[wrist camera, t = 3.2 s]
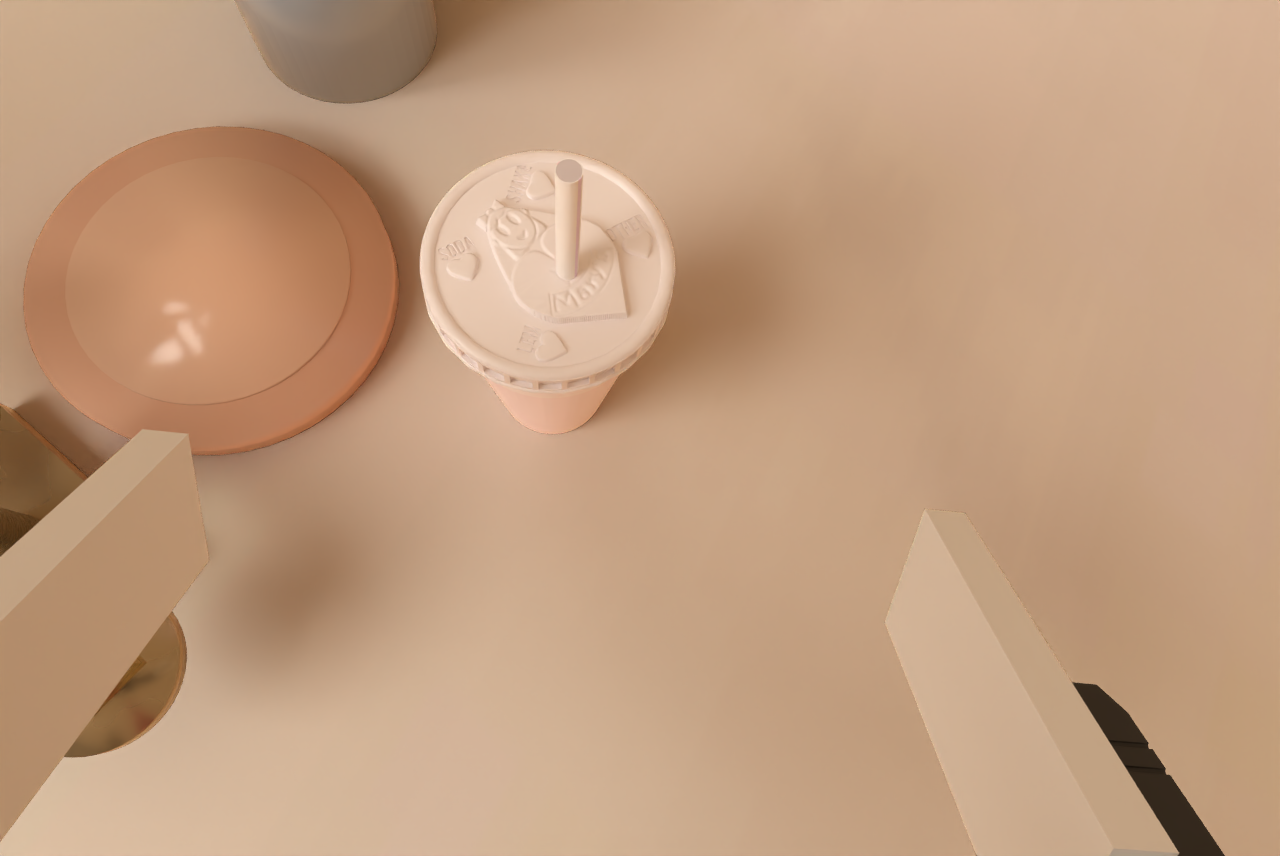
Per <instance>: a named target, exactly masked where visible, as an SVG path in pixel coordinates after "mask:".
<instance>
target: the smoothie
mask: <svg viewBox="0 0 1280 856" xmlns="http://www.w3.org/2000/svg"><path fill="white" fill-rule="evenodd" d="M420 276H421V283H422V288H423V293H424V297H425V302H426V306H427V310H428V315H429V317H430V319H431V321H432V323H433V325H434V326H435V328H436V330H437V332H438V334H439V335H440V337H441V339H442V341H443V343H444V344H445V345H446V346H447V347H448V348H449V349H450V350H451V351H452V352H453V353H454V354H455V355H456V356H457V357H458V358H459V359H460V360H461V361H462V362H463V363H464V364H465V365H466V366H467V367H468V368H470V369H472V370H473V371H475V372H477V373H478V374H480V375H482V376H484V378H485V379H486V380H487V382H488V383H489V385H490V386H491V387H492V389H493V390H494V392H495V393H496V394H497V396H498V397H499V398H500V400H501V401H502V403H503V404H504V405H505V407H506V408H507V409H508V411H509V412H510V413H511V415H512V416H513V417H514V418H515V419H516V420H517V421H518V422H519V423H520V424H522V425H523V426H525V427H527V428H529V429H531V430H533V431H536V432H540V433H545V434H560V433H565V432H569V431H572V430H574V429H576V428H578V427H580V426H582V425H583V424H584V423H586V422H587V421H588V420H589V419H590V418H591V417H592V416H593V415H594V413H595V412H596V411H597V409H598V407H599V406H600V404H601V403H602V401H603V400H604V398H605V397H606V395H607V393H608V392H609V390H610V389H611V387H612V386H613V384H614V383H615V381H616V379H617V378H618V376H619V375H620V374H621V373H623V372H625V371H626V370H627V369H628V368H629V367H631V366H632V365H633V364H634V363H635V362H636V361H637V360H638V359H639V358H640V357H641V356H642V355H644V354H645V353H646V352H647V351H648V350H649V349H650V347H651V345H652V344H653V342H654V340H655V339H656V337H657V335H658V334H659V332H660V331H661V329H662V327H663V326H664V324H665V321H666V318H667V314H668V310H669V307H670V303H671V299H672V295H673V286H674V279H675V256H674V249H673V244H672V240H671V237H670V234H669V231H668V228H667V226H666V224H665V221H664V219H663V217H662V216H661V214H660V212H659V210H658V209H657V207H656V206H655V205H654V203H653V202H652V200H651V199H650V198H649V197H648V196H647V195H646V193H645V192H644V191H643V190H642V189H641V188H640V187H639V186H638V185H637V184H636V183H634V182H633V181H632V180H631V179H629V178H628V177H627V176H625V175H624V174H622V173H621V172H619V171H618V170H616V169H614V168H613V167H611V166H609V165H607V164H605V163H603V162H600V161H598V160H596V159H593V158H590V157H587V156H584V155H579V154H575V153H570V152H564V151H553V150H536V151H526V152H520V153H515V154H511V155H507V156H504V157H500V158H498V159H495V160H493V161H490V162H488V163H486V164H484V165H482V166H480V167H478V168H477V169H475V170H473V171H472V172H470V173H469V174H467V175H466V176H465V177H463V178H462V179H461V180H459V181H458V182H457V183H456V184H455V185H454V186H453V187H452V188H451V189H450V190H449V191H448V192H447V193H446V194H445V196H444V197H443V198H442V199H441V201H440V202H439V204H438V205H437V206H436V208H435V210H434V212H433V213H432V215H431V217H430V219H429V222H428V224H427V226H426V229H425V232H424V236H423V239H422V244H421V251H420Z"/></svg>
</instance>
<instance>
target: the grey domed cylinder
mask: <svg viewBox="0 0 1280 856" xmlns="http://www.w3.org/2000/svg"><path fill="white" fill-rule="evenodd" d="M234 1H235V3H236V5H237V7H238V9H239V11H240V13H241V15H242V17H243V19H244V21H245V23H246V25H247V27H248V29H249V31H250V33H251V35H252V37H253V39H254V41H255V43H256V45H257V47H258V49H259V51H260V53H261V55H262V57H263V59H264V61H265V62H266V64H267V66H268V67H269V69H270V70H271V71H272V72H273V74H274V75H275V76H276V77H277V78H279V79H280V80H281V81H282V82H283V83H284V84H286V85H287V86H289V87H290V88H291V89H293V90H295V91H297V92H299V93H301V94H303V95H305V96H308V97H311V98H313V99H317V100H321V101H326V102H333V103H361V102H366V101H371V100H375V99H378V98H382V97H384V96H387V95H389V94H391V93H394V92H396V91H397V90H399V89H401V88H402V87H404V86H405V85H407V84H408V83H409V82H411V81H412V80H413V79H414V78H415V77H416V76H417V75H418V74H419V73H420V72H421V71H422V70H423V68H424V67H425V66H426V64H427V63H428V61H429V59H430V57H431V55H432V53H433V50H434V47H435V43H436V38H437V23H436V16H435V11H434V6H433V1H432V0H234Z"/></svg>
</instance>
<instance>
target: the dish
mask: <svg viewBox="0 0 1280 856" xmlns="http://www.w3.org/2000/svg"><path fill="white" fill-rule="evenodd" d="M398 291H399V281H398V270H397V263H396V259H395V255H394V251H393V247H392V244H391V242H390V239H389V237H388V235H387V232H386V230H385V227H384V225H383V222H382V220H381V218H380V215H379V213H378V211H377V209H376V207H375V206H374V204H373V202H372V201H371V199H370V197H369V196H368V194H367V193H366V192H365V191H364V189H363V188H362V187H361V186H360V184H359V183H358V182H357V181H356V179H355V178H354V177H352V176H351V175H350V174H349V173H348V172H347V171H346V170H345V169H344V168H343V167H342V166H341V165H339V164H338V163H337V162H335V161H334V160H332V159H331V158H329V157H328V156H327V155H325V154H324V153H322V152H320V151H318V150H316V149H315V148H313V147H311V146H309V145H307V144H305V143H303V142H300V141H298V140H295V139H292V138H290V137H287V136H284V135H281V134H277V133H273V132H269V131H265V130H259V129H252V128H244V127H220V126H219V127H206V128H195V129H190V130H184V131H179V132H174V133H170V134H167V135H164V136H160V137H157V138H153V139H150V140H148V141H146V142H143V143H141V144H138V145H136V146H134V147H131V148H129V149H127V150H125V151H124V152H122V153H120V154H118V155H116V156H115V157H113V158H111V159H109V160H108V161H106V162H105V163H103V164H102V165H101V166H99V167H98V168H96V169H95V170H94V171H92V172H91V173H89V174H88V175H87V176H86V177H85V178H84V179H83V180H82V181H80V182H79V183H78V184H77V185H76V186H75V187H74V188H73V189H72V190H71V191H70V192H69V193H68V194H67V196H66V197H65V198H64V199H63V200H62V201H61V202H60V203H59V205H58V206H57V207H56V209H55V210H54V212H53V213H52V215H51V216H50V218H49V219H48V220H47V222H46V223H45V225H44V227H43V229H42V231H41V233H40V235H39V237H38V239H37V241H36V243H35V246H34V248H33V251H32V254H31V257H30V260H29V263H28V267H27V273H26V278H25V283H24V303H23V309H24V317H25V324H26V330H27V334H28V337H29V340H30V344H31V347H32V350H33V352H34V354H35V356H36V358H37V361H38V363H39V365H40V367H41V369H42V370H43V372H44V373H45V375H46V376H47V378H48V379H49V380H50V382H51V383H52V385H53V386H54V387H55V388H56V390H57V391H58V392H59V393H60V394H61V395H62V396H63V397H64V398H65V399H66V400H67V401H68V402H69V403H70V404H71V405H73V406H74V407H75V408H76V409H78V410H79V411H80V412H82V413H83V414H84V415H86V416H87V417H88V418H90V419H92V420H94V421H95V422H97V423H99V424H101V425H102V426H104V427H106V428H108V429H110V430H112V431H114V432H116V433H118V434H120V435H122V436H124V437H126V438H128V439H130V440H131V439H132V438H133V437H134V436H135V435H137V434H138V433H139V432H140V431H141V430H142V429H146V430H156V431H166V432H176V433H186V434H188V435H189V441H190V447H191V453H192V455H225V454H232V453H240V452H246V451H250V450H254V449H258V448H262V447H266V446H270V445H272V444H275V443H278V442H280V441H283V440H285V439H288V438H291V437H293V436H295V435H297V434H299V433H301V432H302V431H304V430H306V429H308V428H310V427H312V426H314V425H315V424H317V423H318V422H320V421H321V420H323V419H324V418H325V417H327V416H328V415H330V414H331V413H333V412H334V411H335V410H336V409H337V408H338V407H340V406H341V405H342V404H343V403H344V402H345V401H346V400H348V399H349V398H350V397H351V396H352V395H353V393H354V392H355V391H356V390H357V389H358V388H359V387H360V386H361V384H362V383H363V382H364V381H365V380H366V378H367V377H368V375H369V374H370V373H371V371H372V370H373V368H374V367H375V365H376V364H377V362H378V360H379V358H380V356H381V354H382V353H383V351H384V349H385V347H386V345H387V342H388V339H389V337H390V334H391V331H392V328H393V325H394V321H395V316H396V311H397V306H398Z"/></svg>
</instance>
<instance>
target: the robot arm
mask: <svg viewBox="0 0 1280 856" xmlns="http://www.w3.org/2000/svg"><path fill="white" fill-rule="evenodd" d="M208 561H209V555H208V549H207V543H206V537H205V531H204V525H203V519H202V513H201V507H200V501H199V495H198V489H197V483H196V477H195V471H194V465H193V459H192V453H191V447H190V441H189V435H188V434H186V433H176V432H166V431H156V430H146V429H142V430H141V431H140V432H139V433H138V434H137V435H135V436H134V437H133V438H132V439H131V440H130V441H129V442H128V443H127V444H125V445H124V446H123V447H122V448H121V449H120V450H119V451H118V452H117V453H115V454H114V455H113V456H112V457H111V458H110V459H109V460H108V461H107V462H105V463H104V464H103V465H102V466H101V467H100V468H99V469H98V470H96V471H95V472H94V473H93V474H92V475H91V476H90V477H89V478H88V479H86V480H85V481H84V482H83V483H82V484H81V485H80V486H79V487H78V488H76V489H75V490H74V491H73V492H72V493H71V494H70V495H69V496H68V497H66V498H65V499H64V500H63V501H62V502H61V503H60V504H59V505H58V506H56V507H55V508H54V509H53V510H52V511H51V512H50V513H49V514H47V515H46V516H45V517H44V518H43V519H42V520H41V521H40V522H39V523H37V524H36V525H35V526H34V527H33V528H32V529H31V530H30V531H29V532H27V533H26V534H25V535H24V536H23V537H22V538H21V539H20V540H19V541H17V542H16V543H15V544H14V545H13V546H12V547H11V548H10V549H9V550H7V551H6V552H5V553H4V554H3V555H2V556H1V557H0V842H1V840H2V839H3V838H4V836H5V835H6V833H7V832H8V831H9V829H10V828H11V827H12V825H13V824H14V823H15V821H16V820H17V819H18V817H19V816H20V815H21V813H22V812H23V811H24V809H25V808H26V807H27V805H28V804H29V802H30V801H31V800H32V798H33V797H34V796H35V794H36V793H37V792H38V790H39V789H40V788H41V786H42V785H43V784H44V782H45V781H46V780H47V778H48V777H49V776H50V774H51V773H52V771H53V770H54V769H55V767H56V766H57V765H58V763H59V762H60V761H61V759H62V758H63V757H64V755H65V754H66V753H67V751H68V750H69V749H70V747H71V746H72V745H73V743H74V742H75V741H76V739H77V738H78V736H79V735H80V734H81V732H82V731H83V730H84V728H85V727H86V726H87V724H88V723H89V722H90V720H91V719H92V718H93V716H94V715H95V714H96V712H97V711H98V710H99V708H100V707H101V705H102V704H103V703H104V701H105V700H106V699H107V697H108V696H109V695H110V693H111V692H112V691H113V689H114V688H115V687H116V685H117V684H118V683H119V681H120V680H121V679H122V677H123V676H124V674H125V673H126V672H127V670H128V669H129V668H130V666H131V665H132V664H133V662H134V661H135V660H136V658H137V657H138V656H139V654H140V653H141V652H142V650H143V649H144V648H145V646H146V645H147V644H148V642H149V641H150V639H151V638H152V637H153V635H154V634H155V633H156V631H157V630H158V629H159V627H160V626H161V625H162V623H163V622H164V621H165V619H166V618H167V617H168V615H169V614H170V613H171V611H172V610H173V608H174V607H175V606H176V604H177V603H178V602H179V600H180V599H181V598H182V596H183V595H184V594H185V592H186V591H187V590H188V588H189V587H190V586H191V584H192V583H193V582H194V580H195V579H196V577H197V576H198V575H199V573H200V572H201V571H202V569H203V568H204V567H205V565H206V564H207V563H208ZM885 625H886V627H887V630H888V632H889V635H890V638H891V640H892V643H893V645H894V648H895V650H896V653H897V655H898V658H899V660H900V663H901V665H902V668H903V671H904V673H905V676H906V678H907V681H908V683H909V686H910V688H911V691H912V693H913V696H914V699H915V701H916V704H917V706H918V709H919V711H920V714H921V716H922V719H923V721H924V724H925V726H926V729H927V732H928V734H929V737H930V739H931V742H932V744H933V747H934V749H935V752H936V754H937V757H938V760H939V762H940V765H941V767H942V770H943V772H944V775H945V777H946V780H947V782H948V785H949V788H950V790H951V793H952V795H953V798H954V800H955V803H956V805H957V808H958V810H959V813H960V815H961V818H962V821H963V823H964V826H965V828H966V831H967V833H968V836H969V838H970V841H971V843H972V846H973V849H974V851H975V854H976V856H1225V855H1224V854H1223V852H1222V851H1221V849H1220V848H1219V846H1218V845H1217V844H1216V842H1215V841H1214V839H1213V838H1212V836H1211V835H1210V833H1209V832H1208V830H1207V829H1206V827H1205V826H1204V824H1203V823H1202V821H1201V820H1200V819H1199V817H1198V816H1197V814H1196V813H1195V811H1194V810H1193V808H1192V807H1191V805H1190V804H1189V802H1188V801H1187V799H1186V798H1185V796H1184V795H1183V793H1182V792H1181V791H1180V789H1179V788H1178V786H1177V785H1176V783H1175V782H1174V780H1173V779H1172V777H1171V776H1170V775H1166V773H1165V769H1166V768H1165V767H1164V766H1163V764H1162V763H1161V761H1160V760H1159V758H1158V757H1157V755H1156V754H1155V752H1154V751H1153V749H1149V748H1148V742H1147V740H1146V739H1145V738H1144V736H1143V735H1142V733H1141V732H1140V730H1139V729H1138V727H1137V726H1136V724H1135V723H1134V721H1133V720H1132V718H1131V717H1130V715H1129V714H1128V713H1127V712H1126V711H1125V710H1124V709H1123V708H1122V707H1121V706H1120V705H1119V704H1117V703H1116V702H1115V701H1114V700H1113V699H1112V698H1111V697H1110V696H1109V695H1107V694H1106V693H1105V692H1104V691H1103V690H1102V689H1101V688H1100V687H1098V686H1097V685H1095V684H1083V683H1072V682H1071V680H1070V679H1069V677H1068V676H1067V674H1066V672H1065V671H1064V669H1063V668H1062V666H1061V664H1060V663H1059V661H1058V660H1057V658H1056V656H1055V655H1054V653H1053V652H1052V650H1051V648H1050V647H1049V645H1048V644H1047V642H1046V641H1045V639H1044V637H1043V636H1042V634H1041V633H1040V631H1039V629H1038V628H1037V626H1036V625H1035V623H1034V621H1033V620H1032V618H1031V617H1030V615H1029V613H1028V612H1027V610H1026V609H1025V607H1024V606H1023V604H1022V602H1021V601H1020V599H1019V598H1018V596H1017V594H1016V593H1015V591H1014V590H1013V588H1012V586H1011V585H1010V583H1009V582H1008V580H1007V578H1006V577H1005V575H1004V574H1003V572H1002V571H1001V569H1000V567H999V566H998V564H997V563H996V561H995V559H994V558H993V556H992V555H991V553H990V551H989V550H988V548H987V547H986V545H985V543H984V542H983V540H982V539H981V537H980V536H979V534H978V532H977V531H976V529H975V528H974V526H973V524H972V523H971V521H970V520H969V518H968V516H967V515H966V513H964V512H954V511H944V510H934V509H924V512H923V515H922V518H921V520H920V523H919V526H918V529H917V532H916V535H915V537H914V540H913V543H912V546H911V549H910V552H909V554H908V557H907V560H906V563H905V566H904V568H903V571H902V574H901V577H900V580H899V583H898V585H897V588H896V591H895V594H894V597H893V600H892V602H891V605H890V608H889V611H888V614H887V617H886V619H885Z"/></svg>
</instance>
